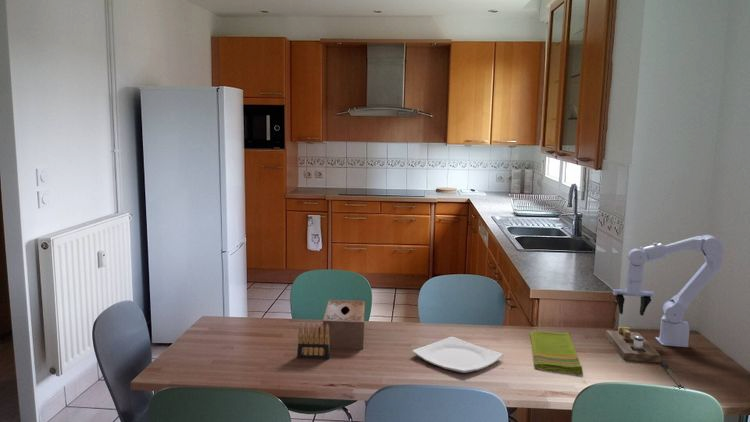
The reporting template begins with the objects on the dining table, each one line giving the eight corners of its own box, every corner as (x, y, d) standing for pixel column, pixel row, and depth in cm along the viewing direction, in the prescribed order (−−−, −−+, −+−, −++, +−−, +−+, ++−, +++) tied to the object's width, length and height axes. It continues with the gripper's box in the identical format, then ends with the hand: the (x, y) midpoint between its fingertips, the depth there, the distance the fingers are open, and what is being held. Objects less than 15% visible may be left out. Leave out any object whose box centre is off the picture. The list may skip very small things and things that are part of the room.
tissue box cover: (327, 324, 228) (328, 299, 226) (364, 325, 228) (365, 301, 226) (322, 348, 202) (322, 320, 201) (363, 349, 202) (364, 322, 201)
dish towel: (534, 370, 190) (535, 361, 190) (529, 335, 225) (529, 327, 224) (583, 376, 187) (584, 366, 186) (570, 339, 221) (570, 331, 221)
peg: (638, 353, 207) (640, 335, 206) (643, 357, 204) (645, 338, 203) (630, 353, 207) (632, 335, 206) (635, 357, 204) (637, 338, 203)
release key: (628, 332, 222) (629, 327, 221) (633, 337, 217) (633, 331, 216) (617, 332, 222) (618, 326, 222) (621, 336, 217) (622, 331, 217)
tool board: (637, 338, 223) (638, 332, 223) (659, 362, 199) (660, 355, 199) (605, 336, 225) (606, 330, 224) (623, 359, 201) (624, 352, 201)
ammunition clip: (329, 357, 193) (330, 322, 192) (329, 359, 192) (330, 324, 190) (297, 356, 193) (298, 321, 192) (296, 358, 191) (297, 323, 190)
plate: (451, 341, 214) (451, 334, 213) (507, 361, 196) (508, 354, 196) (406, 357, 196) (406, 350, 196) (464, 381, 179) (465, 372, 179)
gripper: (650, 278, 224) (647, 312, 226) (612, 276, 226) (608, 309, 228) (657, 283, 218) (653, 317, 219) (617, 280, 219) (613, 314, 221)
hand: (631, 314), depth 223 cm, fingers open, 7 cm apart
